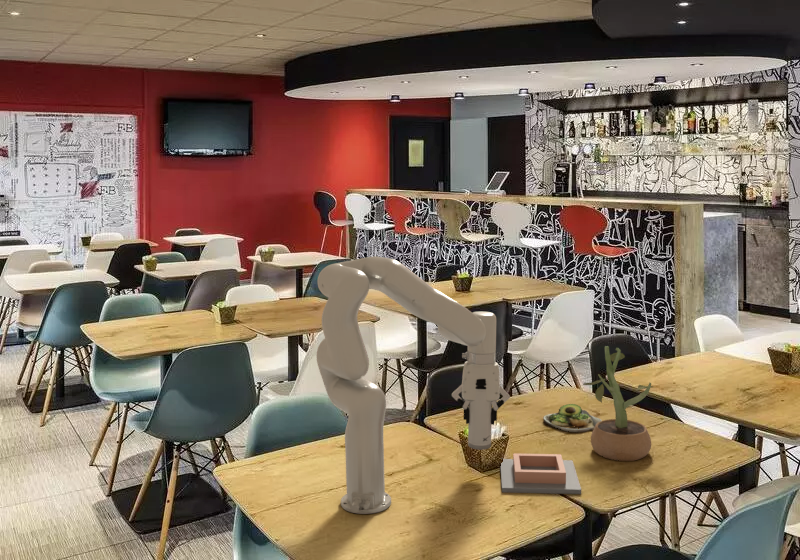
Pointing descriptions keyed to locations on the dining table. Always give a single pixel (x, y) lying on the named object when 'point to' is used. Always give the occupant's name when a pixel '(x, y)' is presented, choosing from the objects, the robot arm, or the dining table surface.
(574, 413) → the salad plate
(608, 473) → the dining table surface
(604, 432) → the potted plant
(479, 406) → the travel mug
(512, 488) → the collar plate
